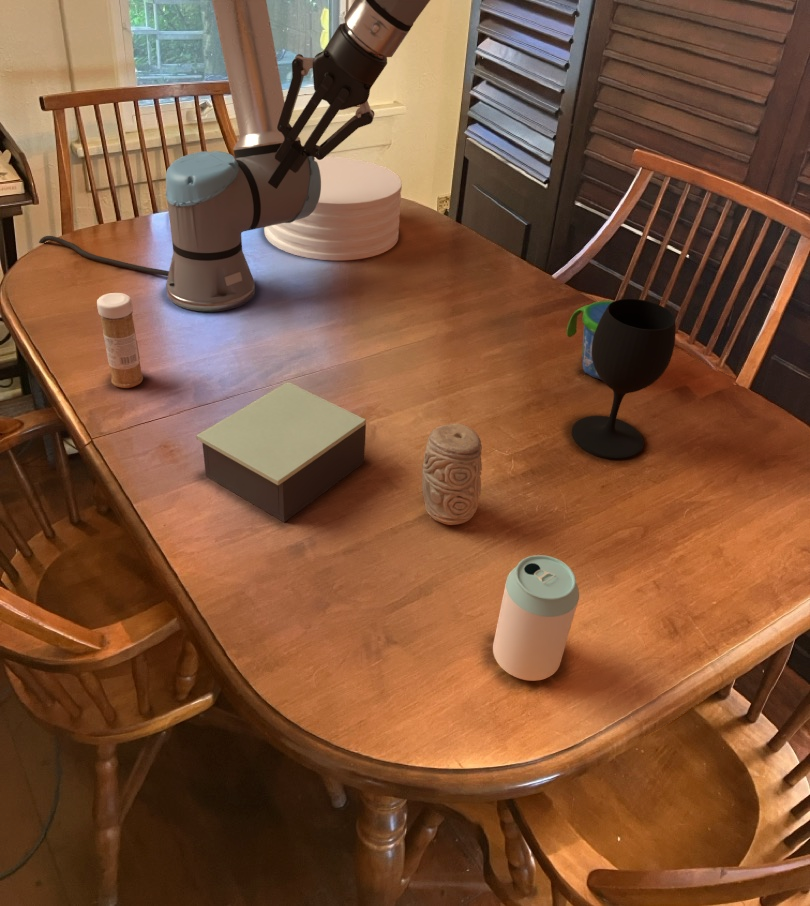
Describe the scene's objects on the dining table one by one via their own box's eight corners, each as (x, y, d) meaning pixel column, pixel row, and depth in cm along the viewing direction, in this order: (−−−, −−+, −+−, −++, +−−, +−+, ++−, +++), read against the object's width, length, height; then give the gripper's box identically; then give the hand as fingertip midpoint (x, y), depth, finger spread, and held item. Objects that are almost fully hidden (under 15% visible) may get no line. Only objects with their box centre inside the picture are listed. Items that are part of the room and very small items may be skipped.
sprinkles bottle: (141, 371, 121) (129, 290, 113) (144, 387, 118) (132, 304, 110) (110, 375, 120) (95, 293, 112) (112, 391, 117) (97, 307, 108)
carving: (433, 488, 104) (441, 412, 97) (485, 510, 101) (498, 433, 94) (408, 515, 99) (416, 437, 92) (462, 539, 97) (474, 461, 89)
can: (489, 677, 81) (506, 596, 74) (494, 625, 86) (511, 544, 79) (559, 690, 80) (583, 609, 73) (560, 636, 86) (582, 556, 78)
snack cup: (546, 359, 133) (558, 303, 126) (588, 342, 138) (600, 288, 132) (621, 403, 123) (637, 345, 117) (662, 383, 129) (679, 327, 123)
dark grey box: (284, 522, 97) (283, 482, 93) (205, 476, 103) (201, 436, 99) (364, 462, 107) (366, 424, 104) (288, 423, 113) (287, 386, 109)
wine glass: (601, 467, 110) (636, 339, 98) (556, 426, 117) (584, 302, 105) (658, 450, 114) (699, 325, 102) (612, 411, 121) (645, 290, 109)
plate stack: (368, 271, 155) (370, 213, 148) (239, 242, 161) (236, 186, 155) (416, 223, 176) (420, 171, 169) (301, 200, 183) (300, 148, 176)
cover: (278, 485, 93) (278, 481, 92) (196, 439, 98) (196, 435, 98) (366, 423, 103) (366, 419, 103) (287, 385, 109) (287, 381, 109)
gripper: (318, 12, 98) (228, 164, 111) (404, 82, 102) (307, 219, 115) (328, -1, 103) (240, 145, 117) (408, 65, 108) (315, 198, 121)
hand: (274, 182), depth 116 cm, fingers closed
